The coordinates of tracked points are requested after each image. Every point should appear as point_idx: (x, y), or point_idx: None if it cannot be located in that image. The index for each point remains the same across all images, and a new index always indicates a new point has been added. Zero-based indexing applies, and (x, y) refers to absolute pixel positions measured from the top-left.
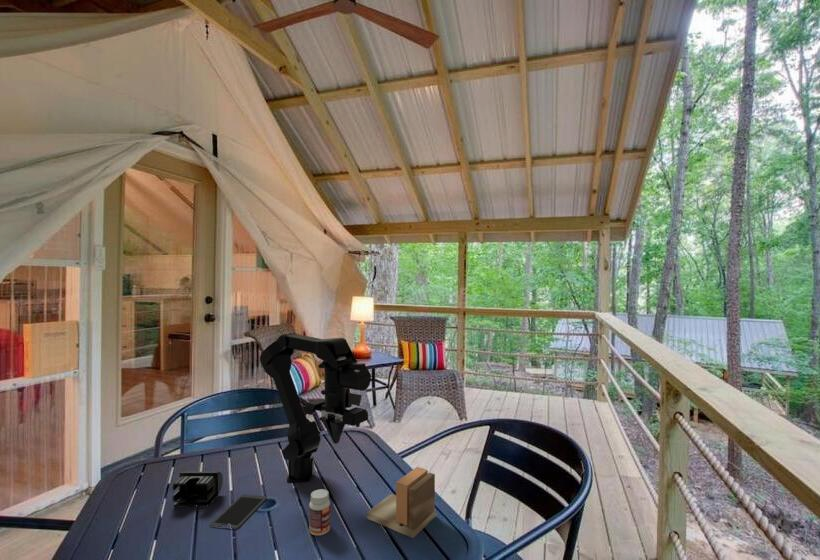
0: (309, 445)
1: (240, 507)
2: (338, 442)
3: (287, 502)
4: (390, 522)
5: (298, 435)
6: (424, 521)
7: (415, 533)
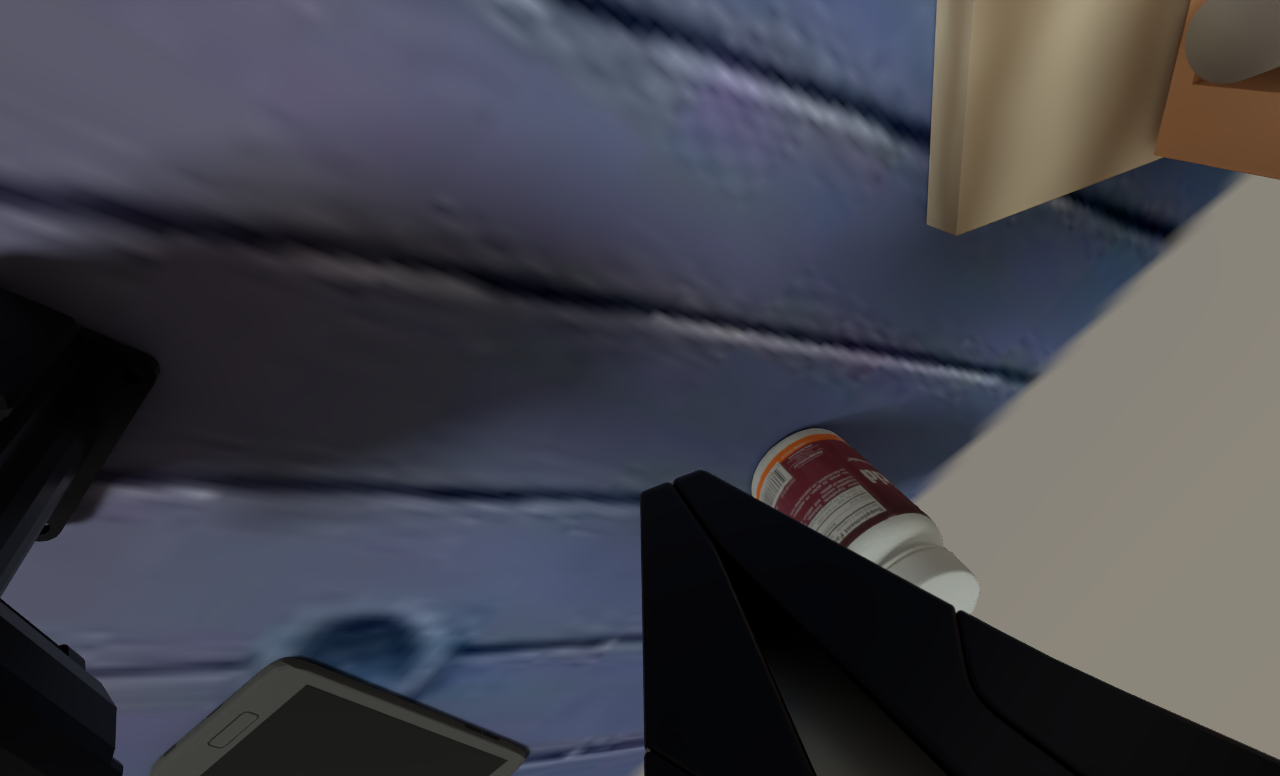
0: (18, 699)
1: (336, 771)
2: (706, 475)
3: (429, 560)
4: (1112, 176)
5: None
6: None
7: None
